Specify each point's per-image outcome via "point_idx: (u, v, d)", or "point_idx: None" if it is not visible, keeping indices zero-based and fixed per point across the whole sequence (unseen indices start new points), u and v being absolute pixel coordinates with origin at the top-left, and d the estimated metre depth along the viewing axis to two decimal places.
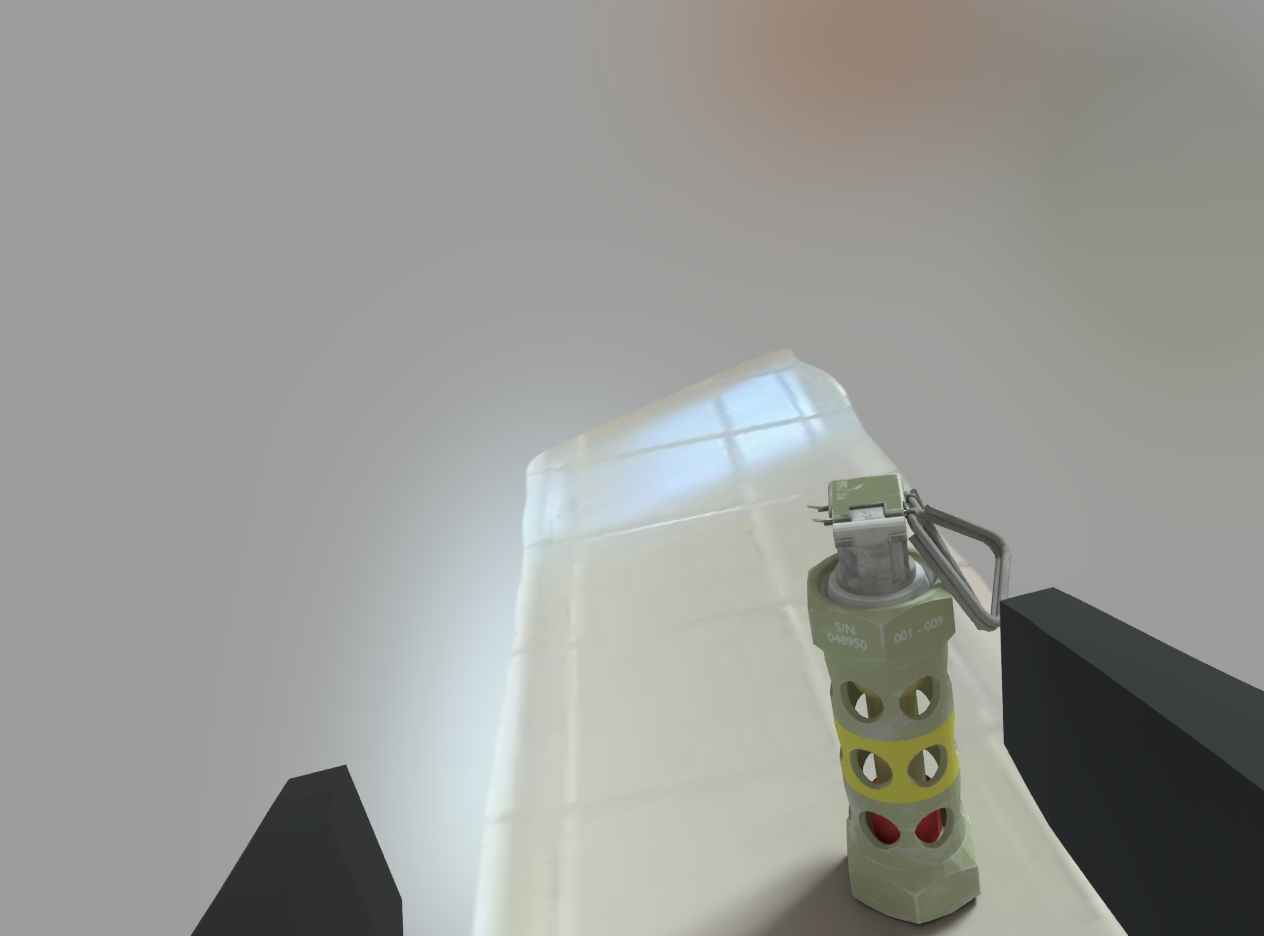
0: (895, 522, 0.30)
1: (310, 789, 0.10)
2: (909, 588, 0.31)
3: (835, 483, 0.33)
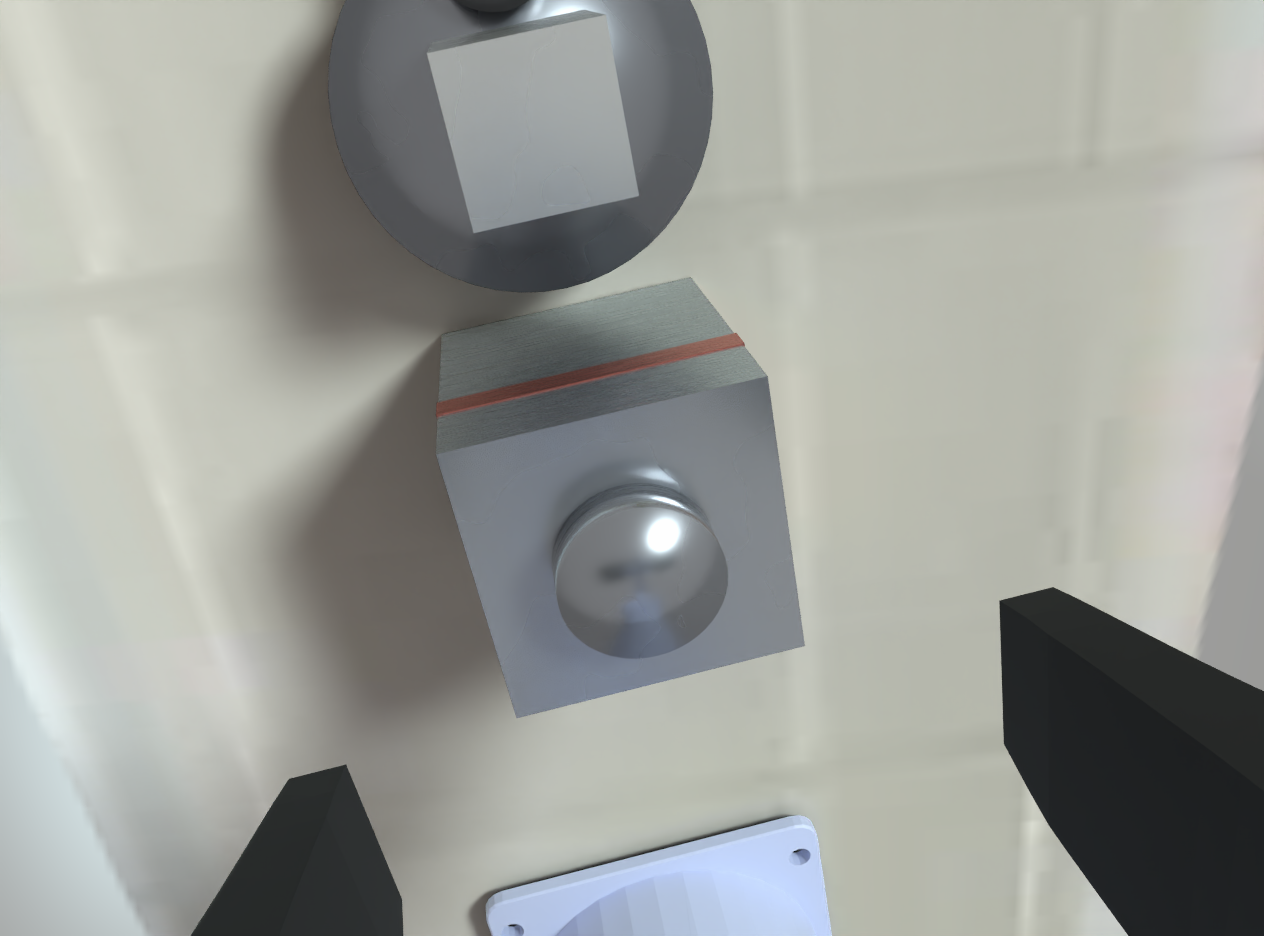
0: None
1: (309, 789, 0.10)
2: None
3: None
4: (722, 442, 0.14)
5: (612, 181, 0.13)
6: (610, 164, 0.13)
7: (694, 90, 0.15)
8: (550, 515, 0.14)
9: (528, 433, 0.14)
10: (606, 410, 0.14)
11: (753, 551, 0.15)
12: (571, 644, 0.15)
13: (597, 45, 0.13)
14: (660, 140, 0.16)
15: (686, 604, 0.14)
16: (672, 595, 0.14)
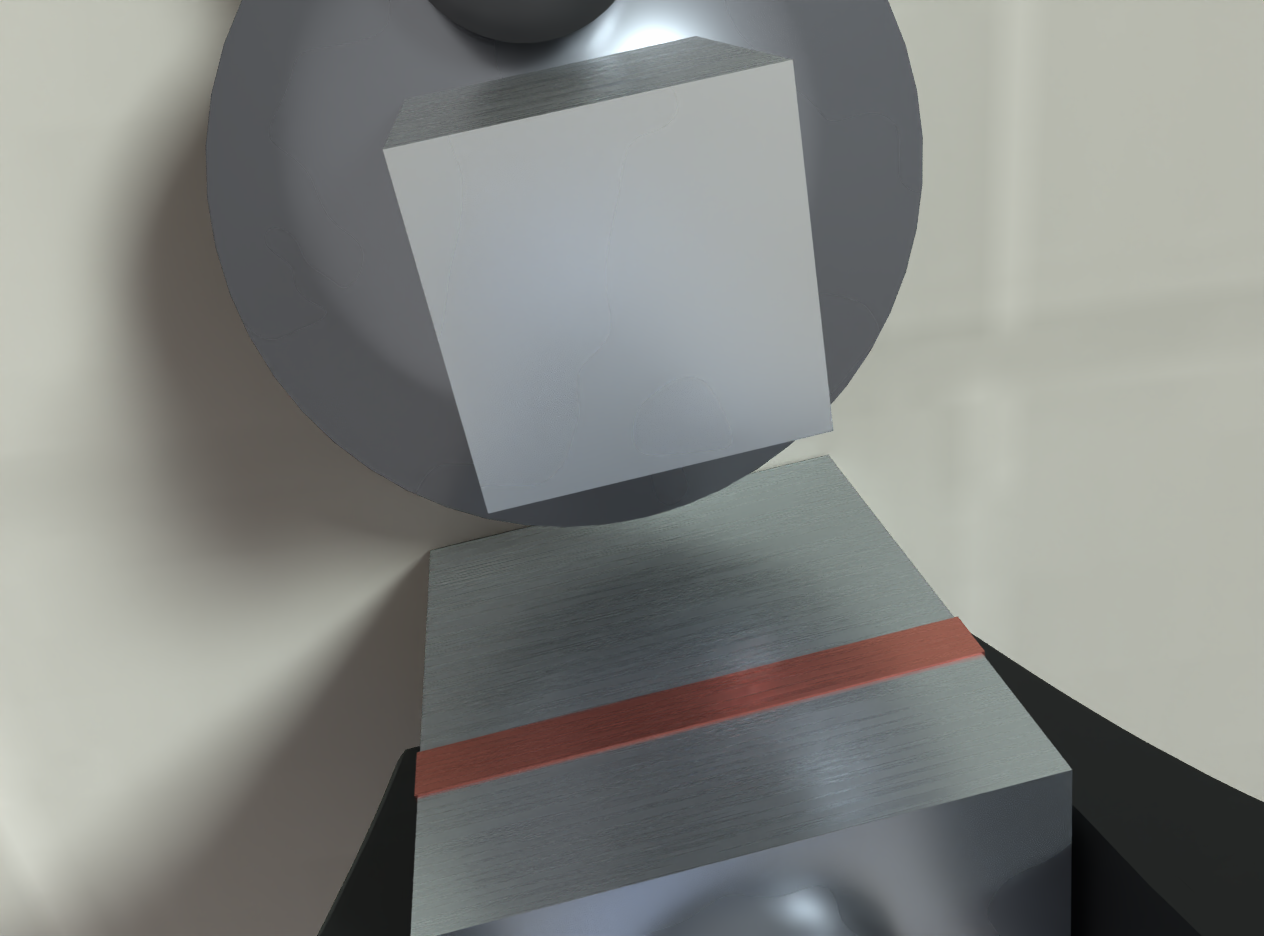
0: None
1: None
2: None
3: None
4: (969, 881, 0.07)
5: (781, 405, 0.06)
6: (778, 373, 0.06)
7: (889, 182, 0.08)
8: None
9: (597, 896, 0.07)
10: (750, 835, 0.07)
11: None
12: None
13: (769, 127, 0.06)
14: (822, 270, 0.09)
15: None
16: None
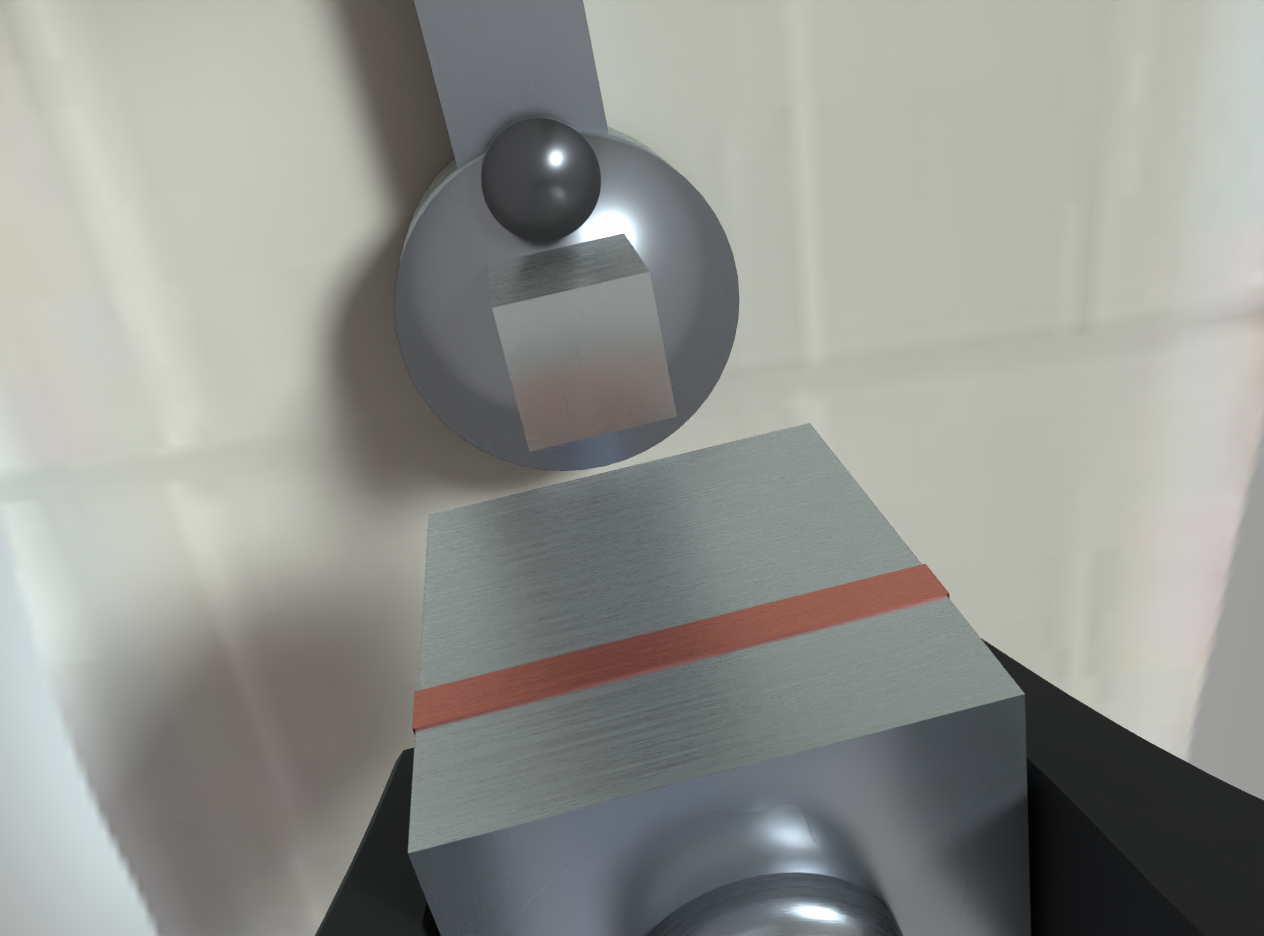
0: None
1: None
2: None
3: None
4: (932, 802, 0.08)
5: (653, 405, 0.15)
6: (651, 392, 0.15)
7: (722, 296, 0.17)
8: (618, 932, 0.08)
9: (582, 810, 0.07)
10: (725, 756, 0.08)
11: None
12: None
13: (642, 296, 0.14)
14: (691, 339, 0.17)
15: None
16: None
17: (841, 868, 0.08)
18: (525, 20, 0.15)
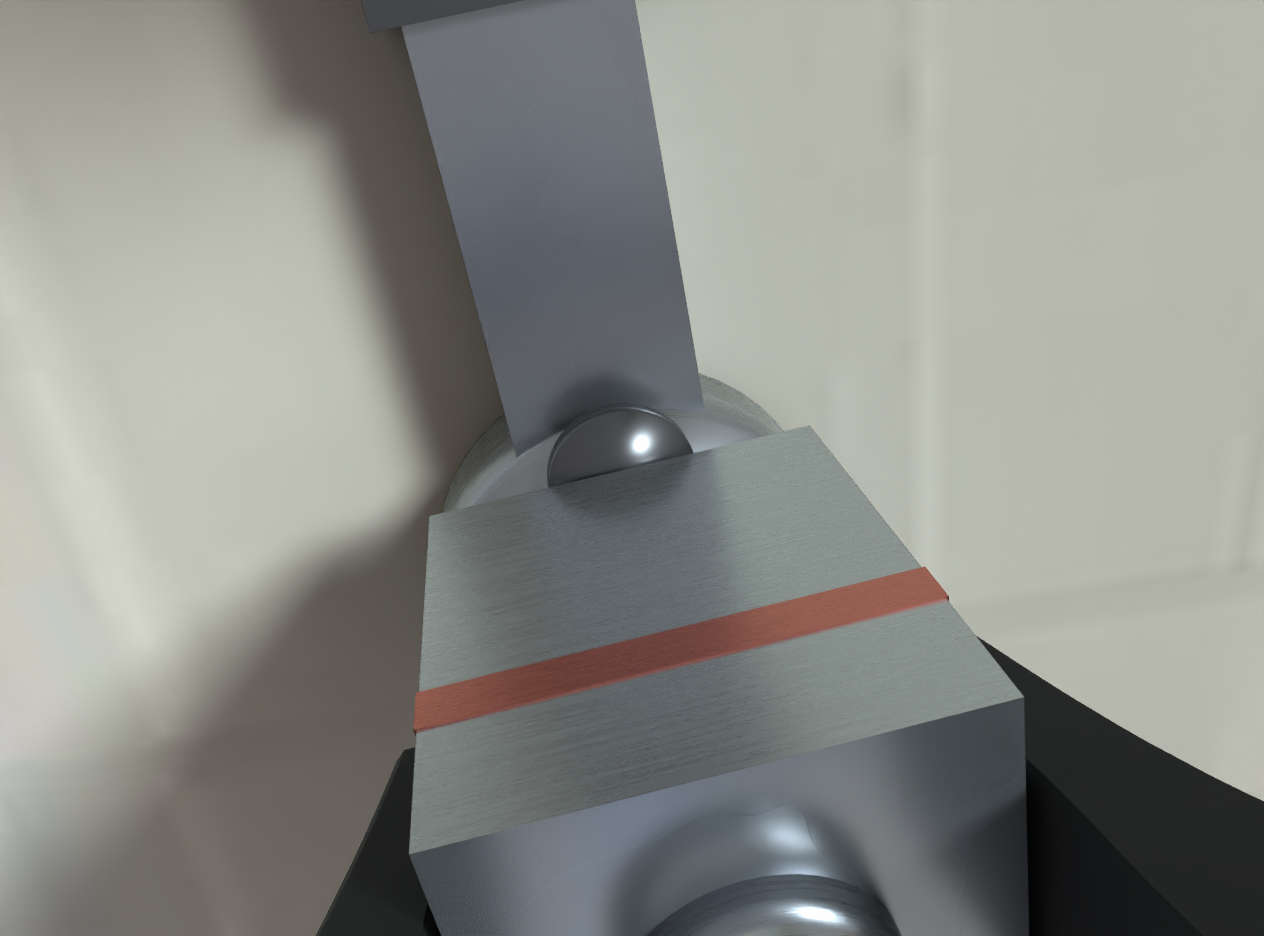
0: None
1: None
2: None
3: None
4: (931, 803, 0.08)
5: None
6: None
7: None
8: (618, 933, 0.08)
9: (582, 812, 0.07)
10: (725, 758, 0.08)
11: None
12: None
13: None
14: None
15: None
16: None
17: (840, 870, 0.08)
18: (606, 286, 0.12)
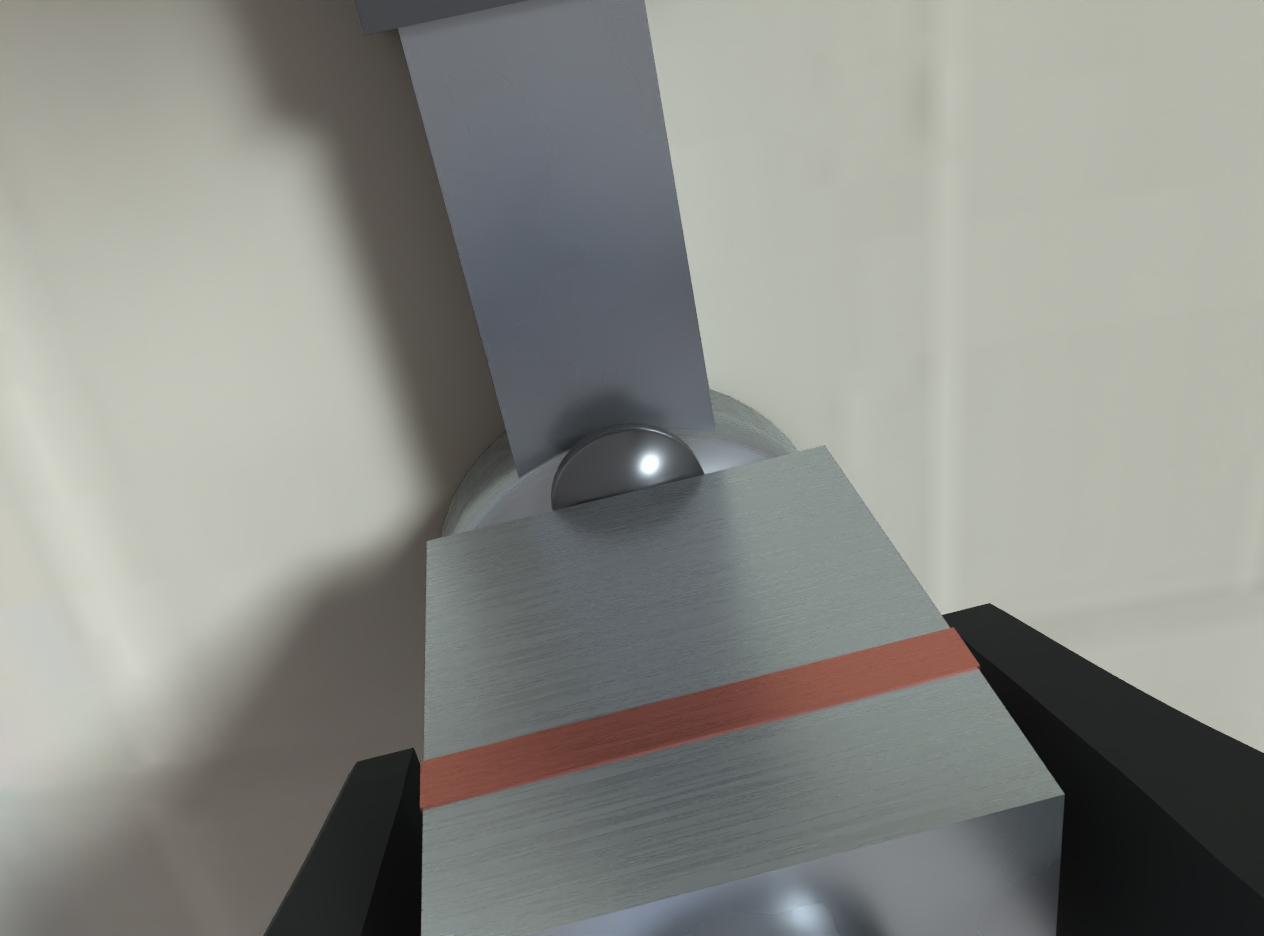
0: None
1: (380, 771, 0.10)
2: None
3: None
4: (961, 893, 0.08)
5: None
6: None
7: None
8: None
9: (603, 917, 0.07)
10: (751, 856, 0.07)
11: None
12: None
13: None
14: None
15: None
16: None
17: None
18: (612, 301, 0.11)
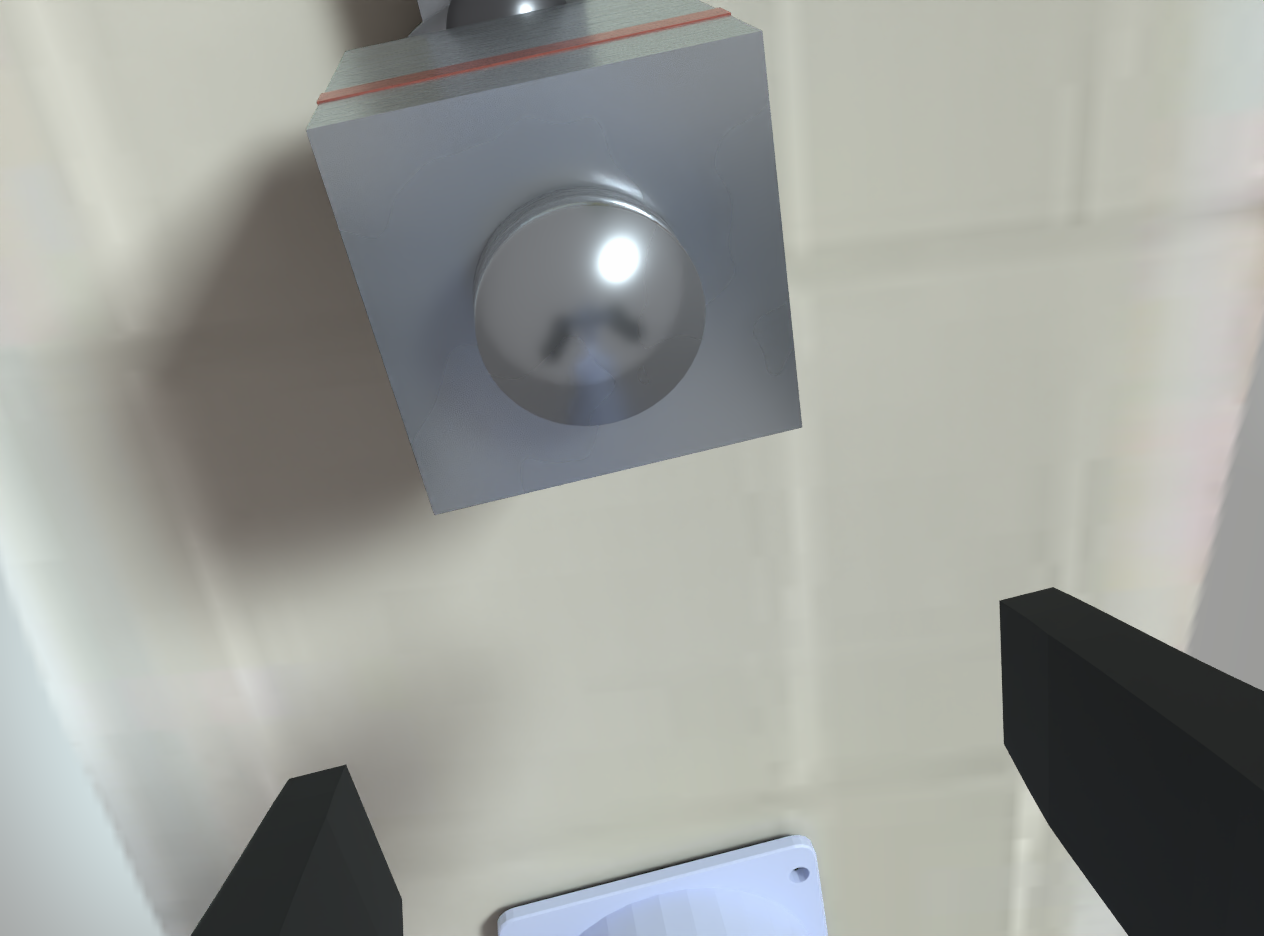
0: None
1: (309, 789, 0.10)
2: None
3: None
4: (699, 128, 0.11)
5: None
6: None
7: None
8: (468, 229, 0.11)
9: (433, 103, 0.10)
10: (542, 77, 0.10)
11: (739, 293, 0.12)
12: (502, 416, 0.12)
13: None
14: None
15: (650, 351, 0.11)
16: (632, 336, 0.11)
17: (634, 186, 0.11)
18: None
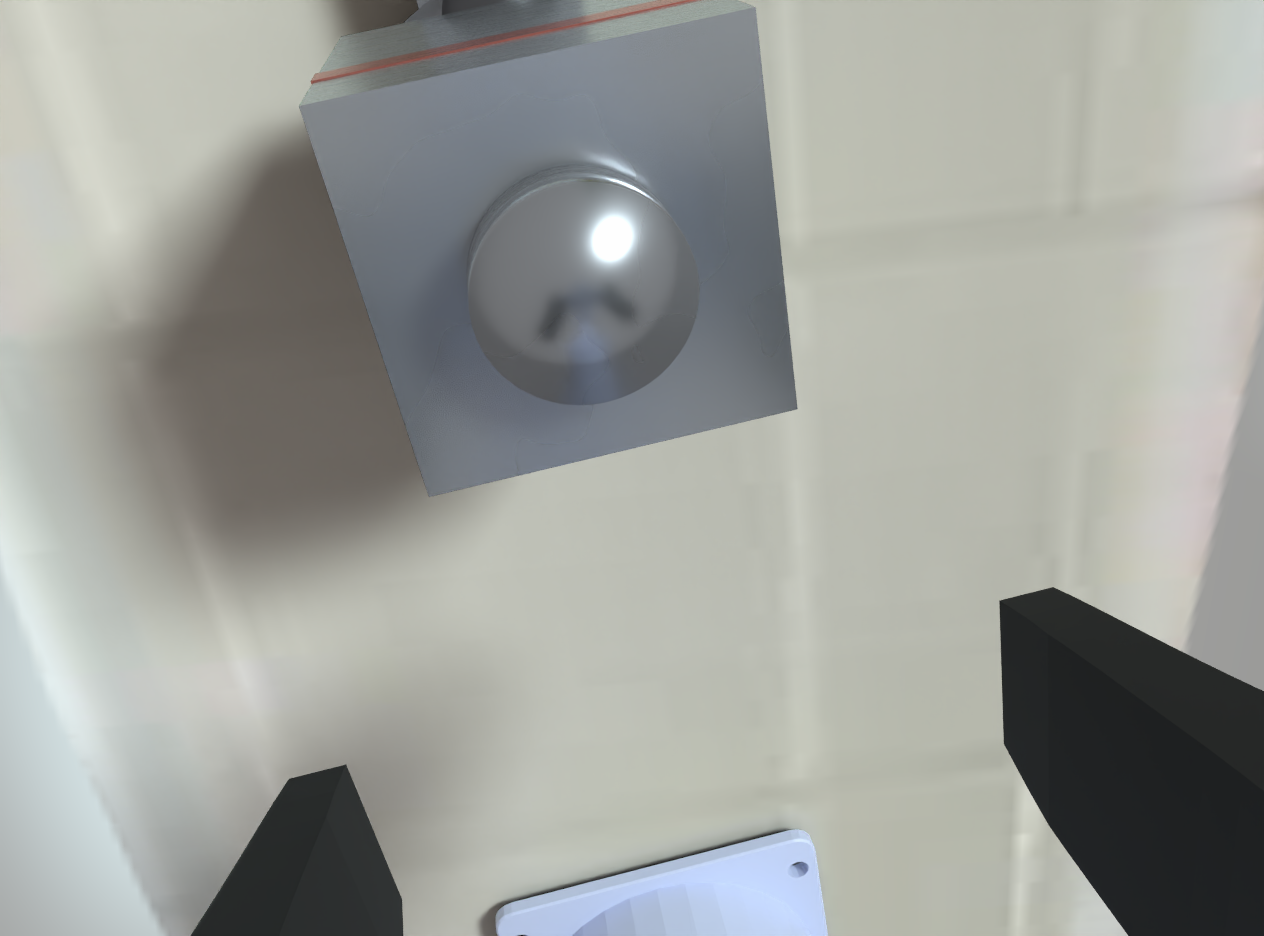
0: None
1: (309, 789, 0.10)
2: None
3: None
4: (693, 106, 0.11)
5: None
6: None
7: None
8: (462, 207, 0.11)
9: (427, 79, 0.10)
10: (535, 54, 0.10)
11: (733, 272, 0.12)
12: (496, 397, 0.12)
13: None
14: None
15: (644, 329, 0.11)
16: (625, 314, 0.11)
17: (628, 164, 0.11)
18: None
